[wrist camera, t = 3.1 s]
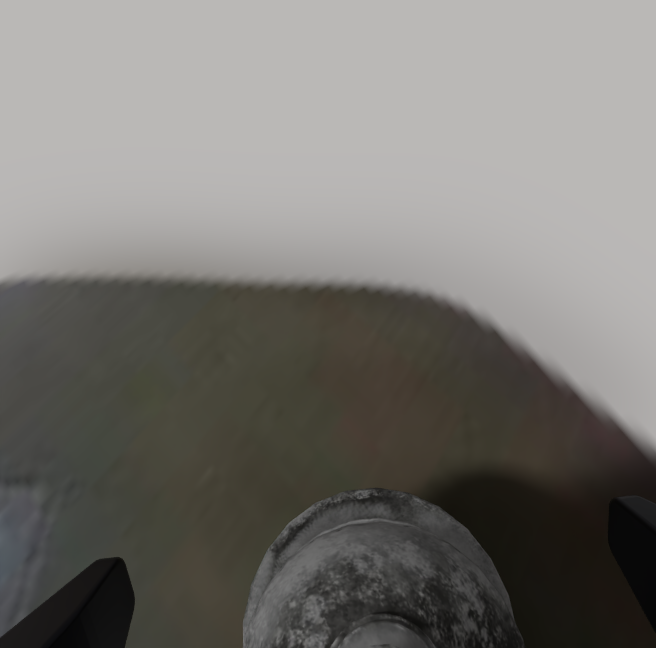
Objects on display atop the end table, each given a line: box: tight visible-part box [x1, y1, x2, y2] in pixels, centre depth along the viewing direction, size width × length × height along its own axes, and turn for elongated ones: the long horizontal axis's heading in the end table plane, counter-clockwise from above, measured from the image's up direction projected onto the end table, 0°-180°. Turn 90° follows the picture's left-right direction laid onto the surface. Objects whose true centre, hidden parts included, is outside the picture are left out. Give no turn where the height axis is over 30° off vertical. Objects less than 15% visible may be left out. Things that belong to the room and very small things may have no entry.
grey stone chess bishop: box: [243, 488, 525, 648], centre depth 9 cm, size 6×6×12 cm
